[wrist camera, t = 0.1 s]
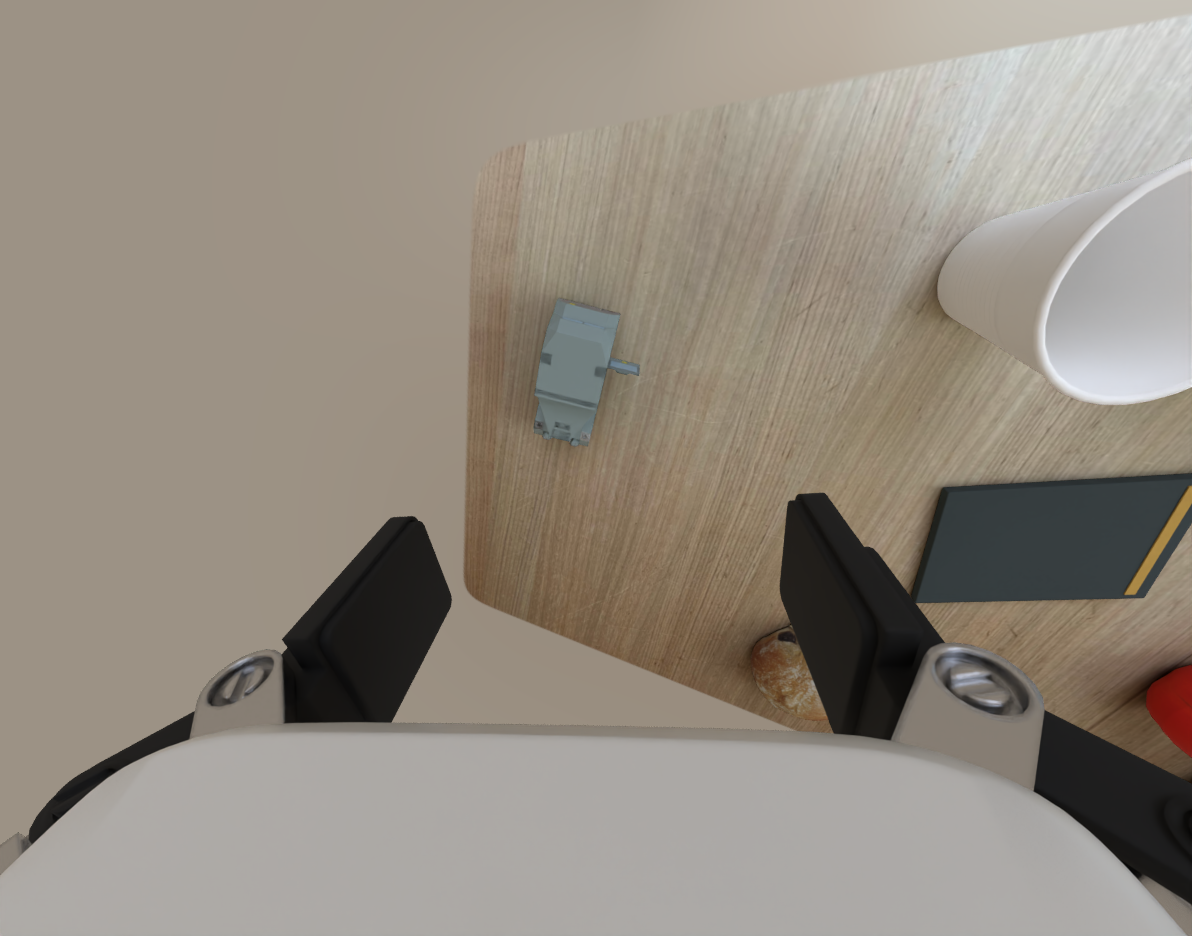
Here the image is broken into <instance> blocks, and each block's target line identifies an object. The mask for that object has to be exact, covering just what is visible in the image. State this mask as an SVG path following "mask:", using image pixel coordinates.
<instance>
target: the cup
mask: <svg viewBox="0 0 1192 936" xmlns="http://www.w3.org/2000/svg"><path fill="white" fill-rule="evenodd" d="M937 292H938V299H939V302H940V305H941V307H942V308H943V310H944V311H945V313H946V314H947V315H949V316H950V317H951V318H952V319H954V320H956V321H957V322H959V323H960V324H962V325H964V326H965V327H967V328H969V329H971V330H972V331H974V332H975V333H977V334H979V335H980V336H982V337H983V338H985V339H987V340H988V341H989V342H991V343H993V344H994V345H996V346H998V347H999V348H1001V349H1003V350H1004V351H1005V352H1008V353H1009V354H1010V355H1012V356H1014V357H1015V358H1016V359H1018V360H1019V361H1021V362H1023V363H1024V364H1026V365H1027V366H1029V367H1031V368H1032V369H1034V370H1035V371H1037V372H1039V373H1040V374H1042V375H1043V376H1044V378H1045V379H1046V381H1047V382H1048V383H1049V384H1050V385H1052V386H1053V387H1054V388H1055V389H1056V390H1058V391H1059V392H1060V393H1062V394H1064V395H1066V396H1068V397H1071V398H1073V399H1075V400H1077V401H1082V402H1087V403H1092V404H1097V405H1128V404H1134V403H1141V402H1147V401H1152V400H1156V399H1159V398H1162V397H1166V396H1169V395H1173V394H1176V393H1179V392H1181V391H1184V390H1186V389H1189V388H1191V387H1192V158H1189V159H1187V160H1184V161H1182V162H1179V163H1177V164H1175V165H1173V166H1171V167H1170V168H1168V169H1165V170H1161V171H1158V172H1154V173H1151V174H1147V175H1144V176H1140V177H1137V178H1133V179H1130V180H1126V181H1123V182H1120V183H1116V184H1113V185H1109V186H1107V187H1103V188H1099V189H1097V190H1093V191H1089V192H1086V193H1082V194H1079V195H1076V196H1071V197H1069V198H1065V199H1061V200H1058V201H1054V202H1051V203H1047V204H1044V205H1041V206H1037V207H1034V208H1030V209H1027V210H1022V211H1019V212H1015V213H1012V214H1008V215H1005V216H1002V217H998V218H995V219H993V220H991V221H988V222H986V223H984V224H982V225H981V226H979V227H977V228H976V229H974V230H973V231H971V232H970V233H969V234H968V235H966V236H965V237H964V238H963V239H962V240H961V241H960V242H959V243H958V244H957V245H956V246H955V247H954V249H953V250H952V252H951V253H950V254H949V256H948V257H947V259H946V261H945V263H944V265H943V267H942V269H941V272H940V275H939V278H938V286H937Z"/></svg>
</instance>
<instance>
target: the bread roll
mask: <svg viewBox="0 0 1192 936" xmlns="http://www.w3.org/2000/svg"><path fill="white" fill-rule="evenodd" d="M751 668H752V673H753V676H754V679H755V682H756V684H757V686H758V688H759V690H760V692H761V693H762V694H763V695H764V697H765V698H766V699H767V700H768V701H769V702H770V703H771V704H772V705H773V706H774V707H776V708H778V709H780V710H782V711H784V712H786V713H788V714H791V715H792V716H795V717H798V718H801V719H805V720H812V721H822V720H828V718H827V715H826V712H825V710H824V707H823V705H822V702H821V700H820V697H819V694H818V692H817V689H816V687H815V684H814V682H813V679H812V676H811V674H810V671H809V669H808V666H807V664H806V661H805V658H804V656H803V653H802V651H801V648H800V645H799V643H798V640H797V638H796V635H795V633H794V630H793V627H792V625H791V626H789V627H787V628H784V629H782V630H778V631H776V632H774V633H773V634H771V635H769V636H768V637H764V638H762V639H761V640H760V641H758V642H757V643H756V645H755V646H754V648H753V651H752V654H751Z"/></svg>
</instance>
